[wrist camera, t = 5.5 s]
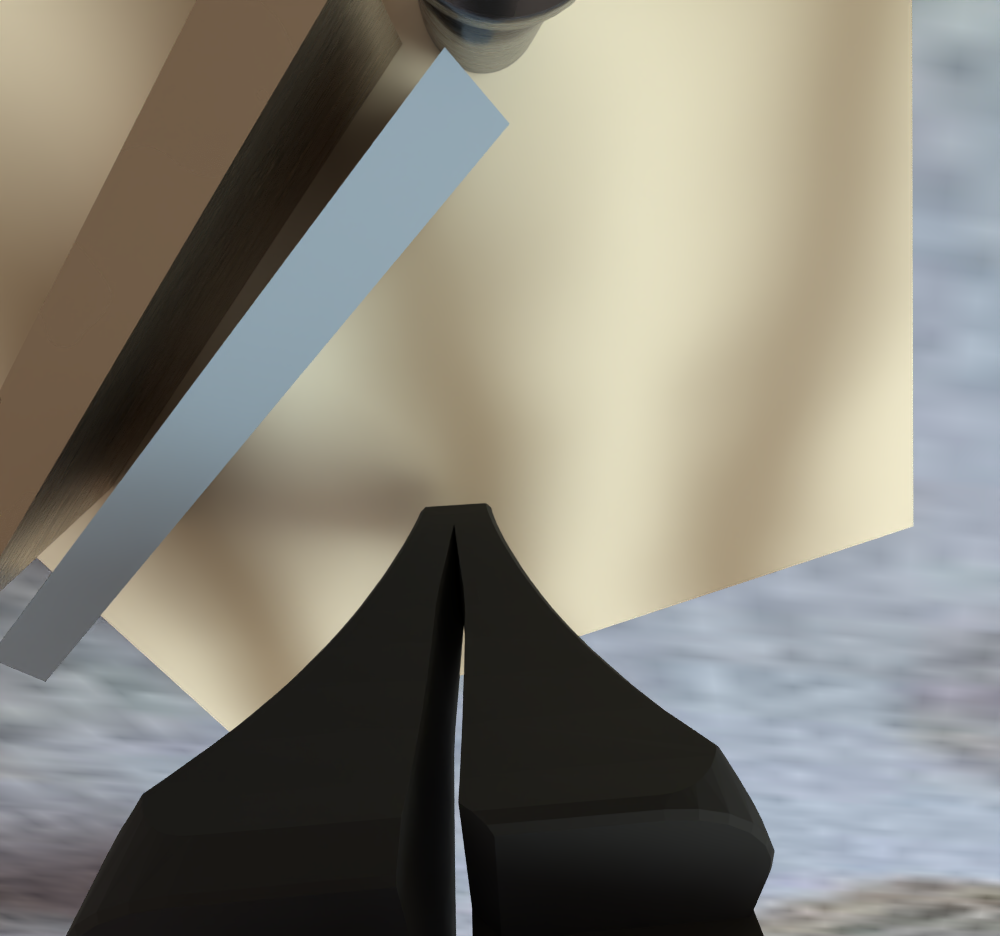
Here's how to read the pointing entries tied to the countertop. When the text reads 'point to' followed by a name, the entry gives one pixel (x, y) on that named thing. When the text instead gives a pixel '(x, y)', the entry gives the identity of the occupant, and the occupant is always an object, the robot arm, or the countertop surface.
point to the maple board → (533, 321)
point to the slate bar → (266, 352)
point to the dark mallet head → (196, 227)
